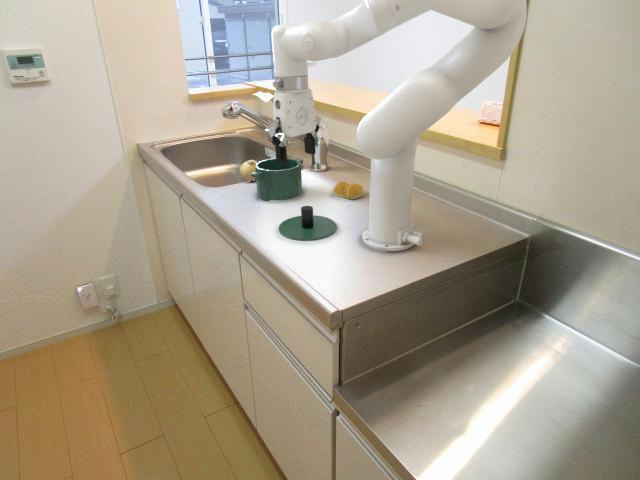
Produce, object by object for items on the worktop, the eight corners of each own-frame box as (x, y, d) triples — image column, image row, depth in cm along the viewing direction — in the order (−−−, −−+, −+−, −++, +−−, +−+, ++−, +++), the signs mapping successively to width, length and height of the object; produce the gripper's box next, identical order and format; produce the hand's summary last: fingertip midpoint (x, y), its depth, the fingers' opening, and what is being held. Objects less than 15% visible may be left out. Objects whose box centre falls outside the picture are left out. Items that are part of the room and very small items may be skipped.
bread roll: (360, 201, 131) (360, 188, 130) (330, 198, 134) (330, 186, 132) (365, 191, 138) (366, 179, 137) (337, 189, 141) (337, 177, 139)
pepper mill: (332, 167, 162) (332, 125, 155) (322, 172, 157) (321, 129, 150) (316, 165, 165) (315, 123, 159) (306, 170, 160) (304, 127, 154)
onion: (235, 180, 152) (232, 159, 149) (253, 174, 157) (251, 154, 154) (250, 184, 147) (248, 163, 144) (268, 178, 152) (267, 158, 149)
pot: (317, 190, 140) (316, 160, 136) (272, 208, 128) (269, 176, 124) (286, 181, 149) (285, 153, 145) (241, 197, 136) (238, 167, 132)
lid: (348, 228, 114) (348, 206, 112) (309, 248, 105) (308, 224, 102) (306, 214, 123) (305, 193, 120) (266, 232, 113) (265, 209, 111)
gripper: (274, 89, 94) (280, 168, 102) (329, 80, 106) (331, 152, 113) (251, 87, 99) (259, 163, 106) (306, 79, 110) (310, 148, 118)
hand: (296, 157), depth 110 cm, fingers open, 9 cm apart
